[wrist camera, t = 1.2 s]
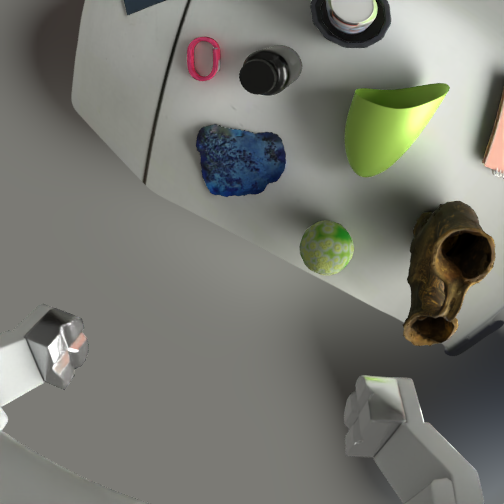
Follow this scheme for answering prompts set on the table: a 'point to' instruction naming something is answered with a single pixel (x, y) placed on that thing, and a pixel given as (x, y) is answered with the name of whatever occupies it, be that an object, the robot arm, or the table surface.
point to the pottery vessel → (444, 270)
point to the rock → (239, 160)
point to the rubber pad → (139, 5)
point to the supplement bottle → (270, 70)
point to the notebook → (496, 143)
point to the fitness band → (191, 58)
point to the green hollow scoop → (387, 124)
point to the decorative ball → (326, 247)
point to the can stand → (318, 22)
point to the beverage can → (351, 15)
